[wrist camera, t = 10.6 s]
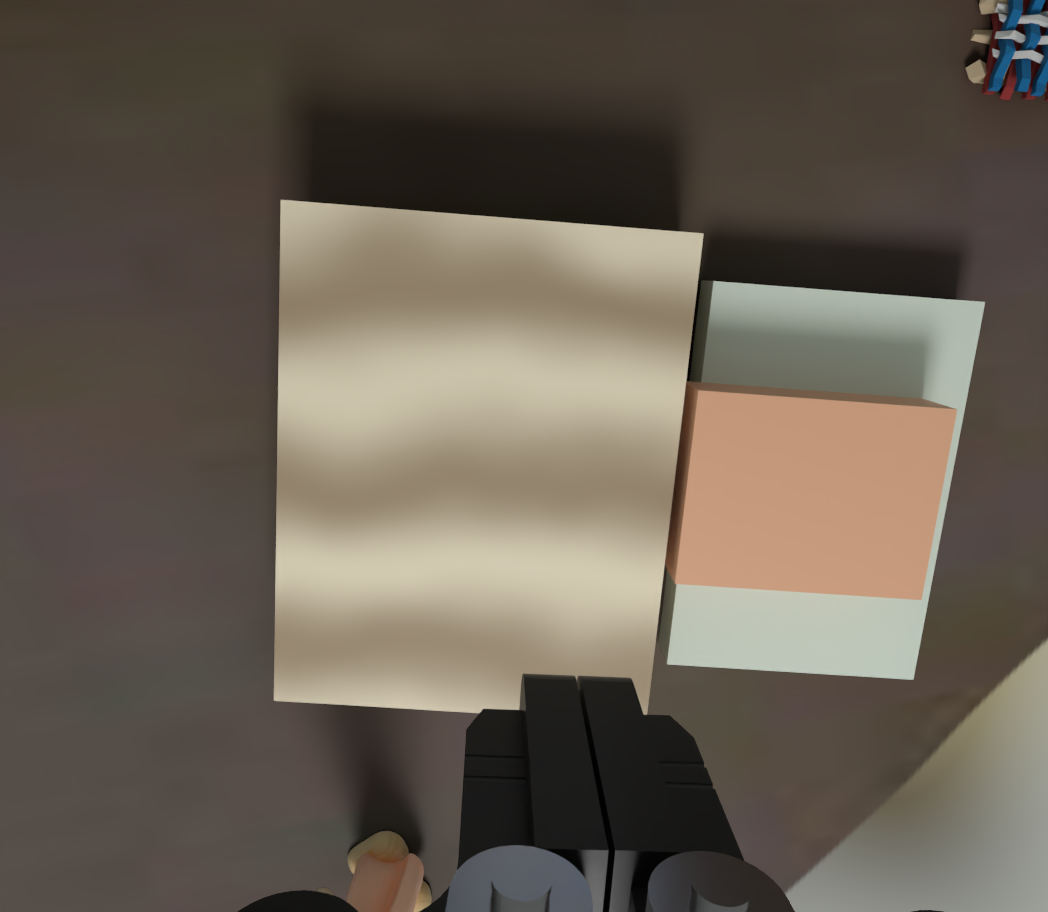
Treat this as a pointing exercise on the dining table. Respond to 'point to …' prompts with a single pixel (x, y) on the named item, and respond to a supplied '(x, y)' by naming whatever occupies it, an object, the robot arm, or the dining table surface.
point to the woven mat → (1013, 49)
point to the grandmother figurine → (386, 876)
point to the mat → (833, 366)
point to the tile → (807, 490)
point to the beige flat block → (473, 452)
